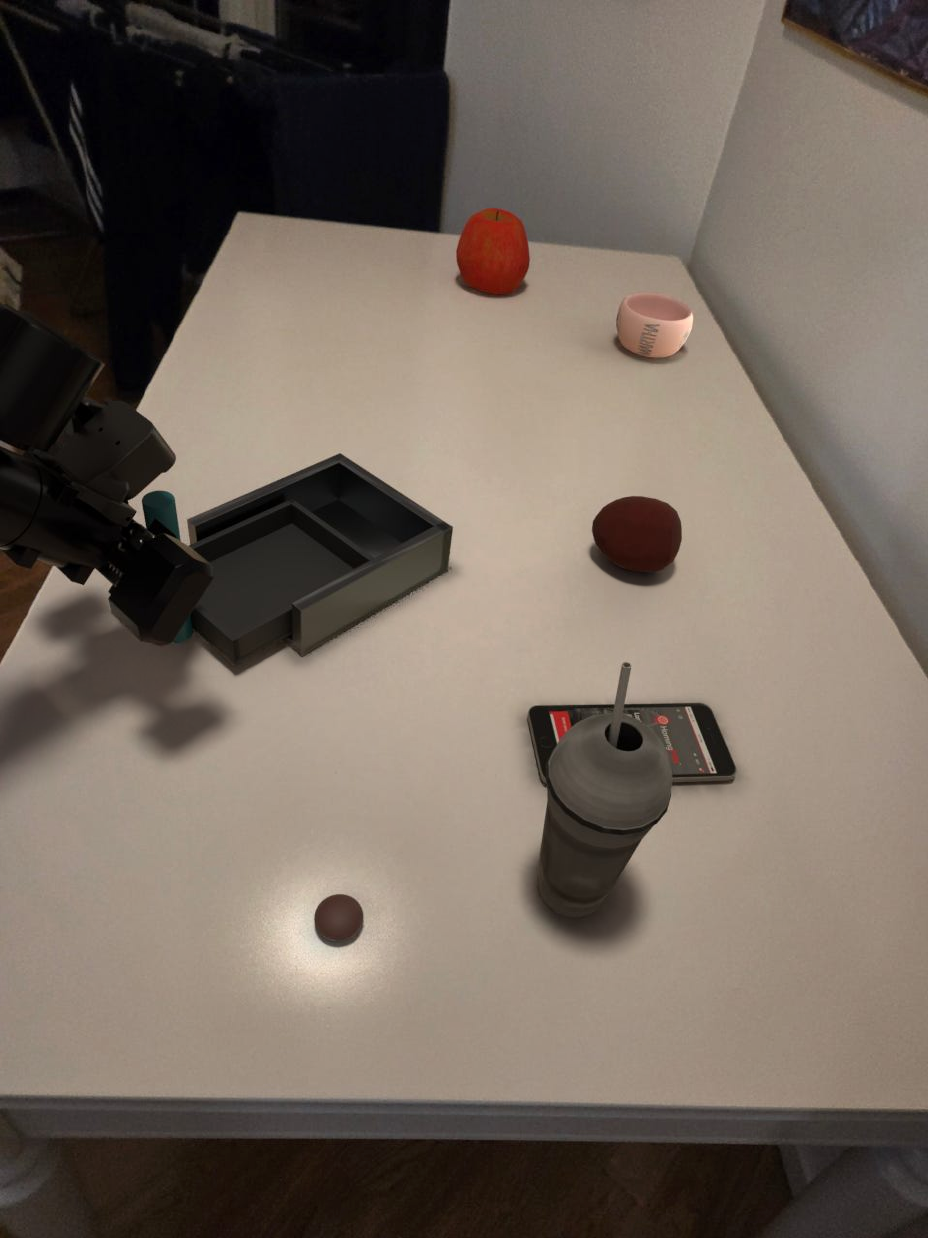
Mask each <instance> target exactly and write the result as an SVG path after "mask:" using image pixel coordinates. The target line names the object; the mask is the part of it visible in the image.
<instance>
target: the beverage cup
mask: <svg viewBox="0 0 928 1238" xmlns="http://www.w3.org/2000/svg"><path fill="white" fill-rule="evenodd" d="M631 671H632V663H631V662H629V661H623V662H622V664H621V666H620V671H619V678H618V683H617V688H616V694H615V698H614V699H615V700H614V704H615V705H614V710H613V713H605V714H598V715H593V716H590V717H588V718H586V719H584V720H581V721H580V722H578V723H576V724H575V725H574V726H573V727H571V728H570V729H569V730H568V731H567V732H566V733H565V734H564V735H563V736H562V737H561V739H560V740H559V742H558V743H557V746H556V747H555V748H554V749H553V751H552V752H551V755H550V757H549V759H548V762H547V764H546V783H547V784H546V783H545V784H546V794H547V795H546V796H547V799H546V800H547V802H546V808H545V813H544V814H545V815H544V820H543V821H544V822H543V827H542V829H543V830H542V837H541V842H540V848H539V849H540V850H539V857H538V866H537V868H538V870H537V871H538V872H537V873H538V874H537V880H536V881H537V883H536V884H537V890H538V893H539V896H540V898H541V899H542V901H543V902H544V903H545V905H546V906H547V907H549V908H550V909H551V910H552V911H554V912H555V913H557V914H559V915H561V916H564V917H568V918H576V919H577V918H583V917H587V916H589V915H591V914H593V913H594V912H596V911H597V910H598V909H599V908H600V906H602V904H603V902H604V900H605V899H606V898H607V896H609V894H610V893H611V891H612V889H613V888H614V886H615V885H616V883H617V881H618V880H619V878H620V877H621V875H622V873H623V871H624V870H625V868H626V867H627V866H628V863H629V862H630V860H631V858H632V857H633V855H634V853H635V852H636V850H637V848H638V847H639V845H640V843H641V842H642V841H643V839H644V838H645V837H646V835H647V834H648V833H650V831H651V830H652V828H653V827H654V826H655V825H658V823H659V822H660V820H661V819H662V818H663V817H664V816H665V814H666V813H667V812H668V810H669V806H670V803H671V802H670V801H671V798H672V787H673V782H672V780H673V777H672V770H671V763H670V757H669V755H668V753H667V751H666V749H665V747H664V745H663V743H662V741H661V739H660V738H659V737H658V736H657V735H656V734H655V733H654V732H653V731H652V730H651V728H650V727H649V726H647V725H646V724H644V723H642V722H641V721H639V720H638V719H635V718H633V717H630V716H627V715H624V714H623V709H624V704H626V697H627V693H628V688H629V682H630V676H631Z"/></svg>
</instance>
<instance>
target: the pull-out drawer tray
mask: <svg viewBox="0 0 928 1238" xmlns="http://www.w3.org/2000/svg"><path fill="white" fill-rule="evenodd" d="M290 499H293V500H295V501H296V502H298V503H299V504H300V505H302V506H303V507H305V508H306V509H307V510H309V511H310V512H312V513H313V514H314V515H316V516H317V517H319V518H320V519H321V520H323V521H324V522H326V523H327V524H328V525H330V526H331V527H332V528H334V529H335V530H337V531H338V532H339V533H341V534H342V535H344V536H345V537H346V538H348V539H349V540H351V541H352V542H353V543H355V544H356V545H358V546H359V547H360V548H362V549H363V550H364V551H366V552H367V553H369V554H370V555H371V556H373V557H374V559H373V560H371V561H369V562H367V563H365V564H363V565H361V566H360V567H358V568H356V569H354V570H352V571H350V572H349V573H347V574H345V575H343V576H341V577H339V578H337V579H336V580H334V581H332V582H330V583H328V584H326V585H325V586H323V587H321V588H319V589H317V590H315V591H313V592H312V593H310V594H308V595H306V596H304V597H302V598H301V599H299V600H297V601H295V602H293V603H292V633H293V634H292V635H290V636H288V637H287V638H285V639H283V640H282V641H283V642H284V643H285V644H287V645H288V646H289V648H291V649H292V650H294V651H295V653H297V654H299V655H300V656H301V657H304V656H306V655H307V654H309V653H311V652H312V651H314V650H316V649H317V648H319V647H321V646H323V645H324V644H327V643H328V642H329V641H331V640H333V639H334V638H336V637H338V636H340V635H341V634H343V633H344V632H346V631H349V630H350V629H351V628H353V627H355V626H357V625H358V624H360V623H361V622H364V621H365V620H367V619H369V618H370V617H371V616H374V615H375V614H376V613H379V612H380V611H382V610H384V609H385V608H387V607H389V606H390V605H392V604H394V603H395V602H397V601H399V600H401V599H402V598H404V597H405V596H407V595H409V594H410V593H413V592H414V591H415V590H418V589H419V588H421V587H422V586H424V585H426V584H427V583H430V582H431V581H432V580H435V579H436V578H438V577H439V576H441V575H443V574H444V573H446V572H448V570H449V564H450V556H451V555H450V554H451V548H452V539H453V531H454V527H453V526H452V525H451V524H449V523H448V522H446V521H444V520H443V519H441V518H440V517H438V516H437V515H435V514H434V513H433V512H431V511H429V510H428V509H426V508H425V507H423V506H422V505H420V504H419V503H417V502H416V501H414V500H413V499H411V498H409V497H408V496H406V495H405V494H403V493H402V492H400V491H399V490H398V489H396V488H395V487H392V486H391V485H390V484H388V483H387V482H385V481H383V480H382V479H380V478H379V477H378V476H376V475H374V474H373V473H372V472H370V471H369V470H367V469H366V468H364V467H362V466H361V465H359V464H358V463H356V462H355V461H353V460H352V459H350V458H349V457H347V456H346V455H344V454H343V453H341V452H339V453H337V454H335V455H332V456H330V457H328V458H326V459H323V460H320V461H318V462H315V463H314V464H312V465H309V466H307V467H304V468H303V469H300V470H297V471H295V472H293V473H291V474H289V475H286V476H283V477H282V478H279V479H277V480H275V481H272V482H270V483H268V484H265V485H263V486H261V487H258V488H256V489H254V490H251V491H249V492H247V493H246V494H242V495H240V496H238V497H235V498H233V499H231V500H229V501H226V502H223V503H221V504H220V505H218V506H215V507H212V508H210V509H208V510H205V511H204V512H201V513H199V514H196V515H194V516H192V517H189V518H187V519H186V524H187V532H188V538H189V545H191V544H194V543H196V542H198V541H200V540H202V539H205V538H207V537H209V536H211V535H213V534H216V533H218V532H220V531H222V530H224V529H227V528H229V527H231V526H233V525H235V524H238V523H240V522H242V521H244V520H246V519H249V518H251V517H253V516H255V515H257V514H260V513H262V512H264V511H266V510H268V509H271V508H273V507H275V506H277V505H279V504H282V503H284V502H286V501H288V500H290Z"/></svg>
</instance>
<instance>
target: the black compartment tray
mask: <svg viewBox="0 0 928 1238" xmlns="http://www.w3.org/2000/svg"><path fill="white" fill-rule="evenodd" d="M141 506H142V511H143V517H144V523H145V528H146V529H147V530H148V528H149V527H150V525H151V523H152V522H153V520H154V519H155V518H156V519H157V520H158V521H159V522H161V523H162V524H163V525H164V526H165V527H167V528H168V529H169V530H170V531H172V532H173V533H174V534H175V535H176V536H177V538H178V540H179V541H181V533H180V527H179V525H180V524H179V519H178V511H177V503H176V497H175V496H174V494H172V493H171V492H170V491H167V490H160V489H159V490H152V491H149V492H147V493H146V494H144V495H143V496H142V498H141ZM181 542H182V541H181ZM188 546H189V547H191V548H192V549H193V550H194V551H196V552H197V553H198V554H199V555H200V556H202V557H203V558H204V559H205V560H206V561H208V562H209V563H210V564H211V565H213V567H214V579H213V580H212V582H211V583H210V585H209V586H208V588H207V589H206V591H205V593H204V594H203V596H202V597H201V599H200V600H199V602H198V603H197V605H196V606H195V608H194V610H193V611H192V613H191V614H190V616H189V617H188V619H187V620H186V622H185V623H184V625H183V627H182V628H181V630H180V631H179V633H178V634H177V636H176V637H175V639H174V640H173V642H172V644H182V643H185V642H187V641H189V640H190V639H191V638H192V637H193V635H194V632H195V633H197V635H199V637H200V638H202V639H203V640H204V641H205V642H206V643H208V644H209V645H210V646H211V647H212V648H213V649H214V650H215V651H217V652H218V653H219V654H220V655H221V656H222V657H223V658H224V659H225V660H227V662H229V663H230V664H231V665H232V666H233V667H237V666H239V665H241V664H243V663H244V662H246V661H248V660H250V659H251V658H253V657H255V656H257V655H259V654H260V653H262V652H264V651H266V650H267V649H269V648H271V647H273V646H274V645H276V644H278V643H280V642H281V641H283V639H285V638H287V637H288V636H290V635H292V634H293V633H292V603H293V602H295V601H297V600H299V599H301V598H302V597H304V596H306V595H308V594H310V593H312V592H313V591H315V590H317V589H319V588H321V587H323V586H325V585H326V584H328V583H330V582H332V581H334V580H336V579H337V578H339V577H341V576H343V575H345V574H347V573H349V572H350V571H352V570H354V569H356V568H358V567H360V566H361V565H363V564H365V563H367V562H369V561H371V560H373V559H374V557H373V556H371V555H370V554H369V553H367V552H366V551H364V550H363V549H362V548H360V547H359V546H358V545H356V544H355V543H353V542H352V541H351V540H349V539H348V538H346V537H345V536H344V535H342V534H341V533H339V532H338V531H337V530H335V529H334V528H332V527H331V526H330V525H328V524H327V523H326V522H324V521H323V520H321V519H320V518H319V517H317V516H316V515H314V514H313V513H312V512H310V511H309V510H307V509H306V508H305V507H303V506H302V505H300V504H299V503H298V502H296V501H295V500H293V499H290V500H288V501H286V502H284V503H282V504H279V505H277V506H275V507H273V508H271V509H268V510H266V511H264V512H262V513H260V514H257V515H255V516H253V517H251V518H249V519H246V520H244V521H242V522H240V523H238V524H235V525H233V526H231V527H229V528H227V529H224V530H222V531H220V532H218V533H216V534H213V535H211V536H209V537H207V538H205V539H202V540H200V541H198V542H196V543H194V544H191V545H190V544H189V545H188Z"/></svg>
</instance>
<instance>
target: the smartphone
mask: <svg viewBox="0 0 928 1238" xmlns="http://www.w3.org/2000/svg"><path fill="white" fill-rule="evenodd" d="M614 705H615V703H609V704H608V703H607V704H606V703H605V704H604V703H603V704H601V703H600V704H544V705H543V704H542V705H541V704H540V705H533V706H530V708H529V709H528V711H527V715H526V716H527V721H528V725H529V730H530V735H531V739H532V745H533V749H534V752H535V758H536V762H537V767H538V773H539V777H540V780H541V781H542V782H543V783H544V784H546V785H547V783H546V764H547V762H548V759H549V757H550V755H551V752H552V751H553V749H554V748H555V747H556V746H557V743H558V742H559V740H560V739H561V737H562V736H563V735H564V734H565V733H566V732H567V731H568V730H569V729H570V728H571V727H573V726H574V725H575V724H576V723H578V722H580V721H581V720H584V719H586V718H588V717H590V716H593V715H598V714H605V713H613V710H614ZM713 711H714V710H713V709H712V708H711V706H709V705H708V704H706V703H703V702H670V703H669V702H665V703H664V702H663V703H662V702H661V703H625V704H624V709H623V714H624V715H627V716H630V717H633V718H635V719H638V720H639V721H641V722H642V723H644V724H646V725H647V726H649V727H650V728H651V730H652V731H653V732H654V733H655V734H656V735H657V736H658V737H659V738H660V739H661V741H662V743H663V745H664V747H665V749H666V751H667V753H668V755H669V757H670V763H671V770H672V777H673V780H672V783H687V782H688V783H689V782H690V783H691V782H721V781H724V782H725V781H731V780H733V779H734V778H735V776H736V774H737V772H738V770H737V766H736V763H735V761H734V759H733V757H732V754H731V752H730V750H729V747H728V744H727V742H726V740H725V737H724V735H723V733H722V731H721V728H720V725H719V723H718V721H717V719H716V716H715V714H714V712H713Z"/></svg>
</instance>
